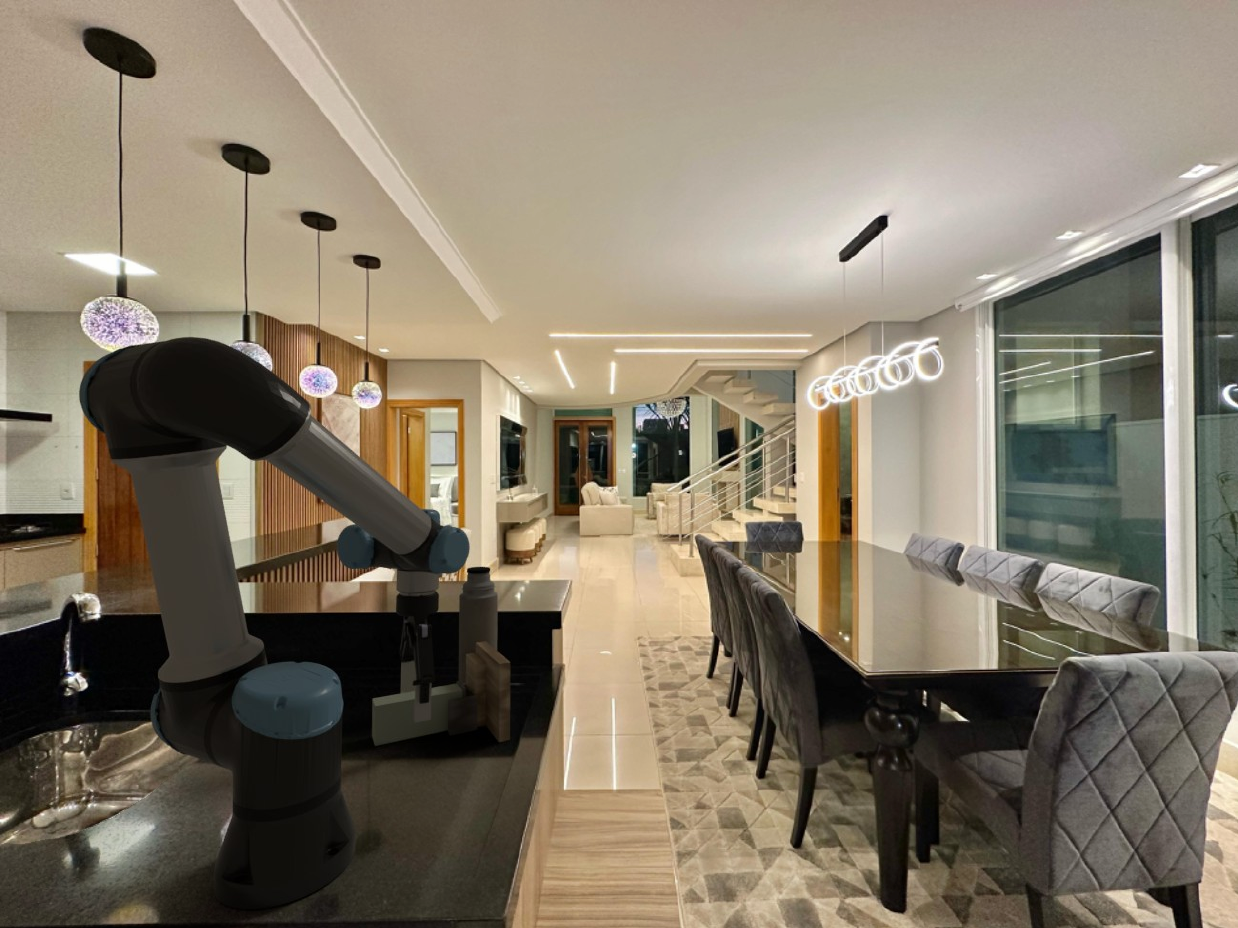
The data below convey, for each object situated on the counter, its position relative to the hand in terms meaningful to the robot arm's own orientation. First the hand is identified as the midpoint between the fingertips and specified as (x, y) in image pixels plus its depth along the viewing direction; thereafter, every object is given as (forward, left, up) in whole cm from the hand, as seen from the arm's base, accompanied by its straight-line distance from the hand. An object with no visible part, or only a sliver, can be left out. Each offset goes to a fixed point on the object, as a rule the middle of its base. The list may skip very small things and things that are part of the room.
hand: (414, 707), depth 107 cm
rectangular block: (+1, 0, -5) cm, 5 cm away
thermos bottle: (+15, +11, -5) cm, 19 cm away
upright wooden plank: (+10, -3, -5) cm, 12 cm away
